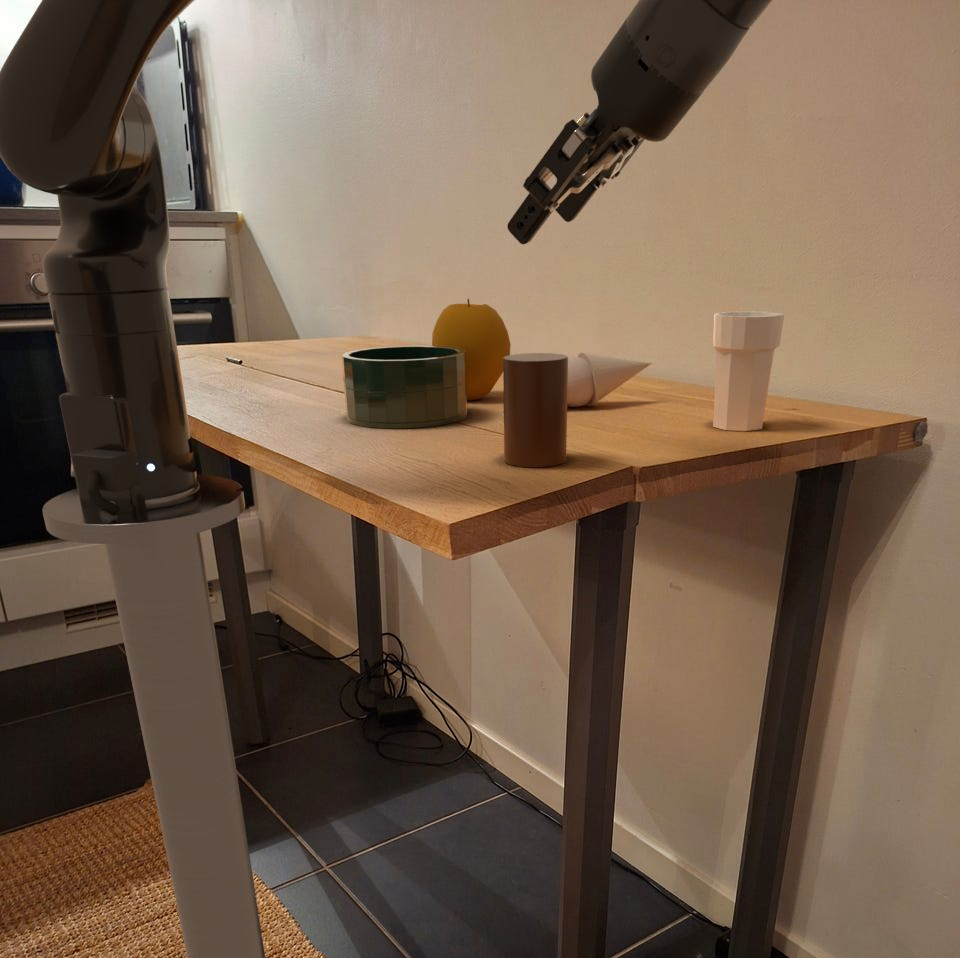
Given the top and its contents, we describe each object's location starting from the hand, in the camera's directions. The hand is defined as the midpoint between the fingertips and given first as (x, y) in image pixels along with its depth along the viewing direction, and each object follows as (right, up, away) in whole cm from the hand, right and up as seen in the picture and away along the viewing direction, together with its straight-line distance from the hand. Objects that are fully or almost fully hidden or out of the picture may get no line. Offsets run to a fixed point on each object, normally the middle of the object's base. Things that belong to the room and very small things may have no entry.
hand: (539, 224), depth 77 cm
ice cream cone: (+8, -8, +30) cm, 32 cm away
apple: (-6, -5, +37) cm, 38 cm away
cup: (+22, -13, +17) cm, 31 cm away
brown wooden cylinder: (0, -19, +5) cm, 20 cm away
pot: (-13, -10, +26) cm, 31 cm away
